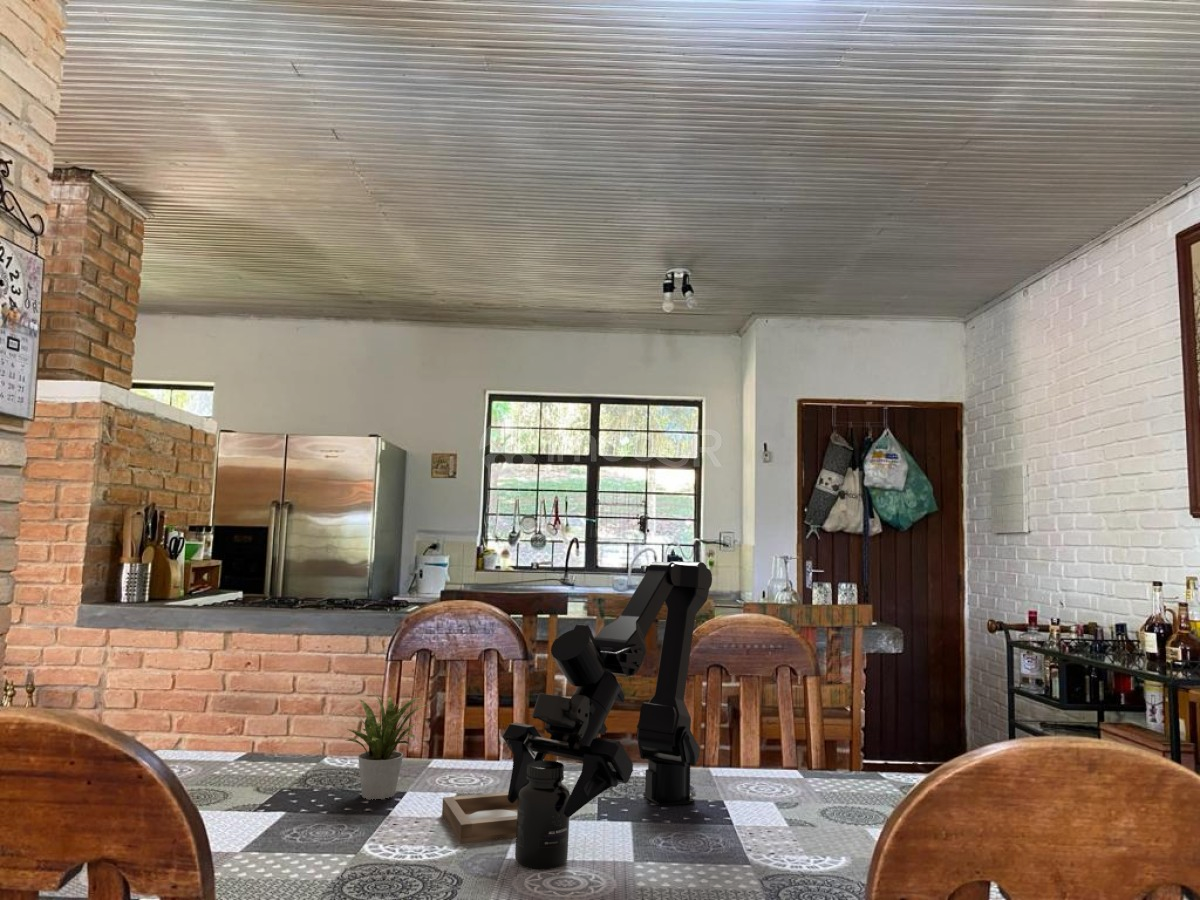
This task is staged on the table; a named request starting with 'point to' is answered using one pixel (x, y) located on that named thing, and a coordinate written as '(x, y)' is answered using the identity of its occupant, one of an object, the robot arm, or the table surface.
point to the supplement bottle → (542, 817)
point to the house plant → (382, 749)
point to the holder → (481, 816)
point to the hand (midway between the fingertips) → (537, 808)
